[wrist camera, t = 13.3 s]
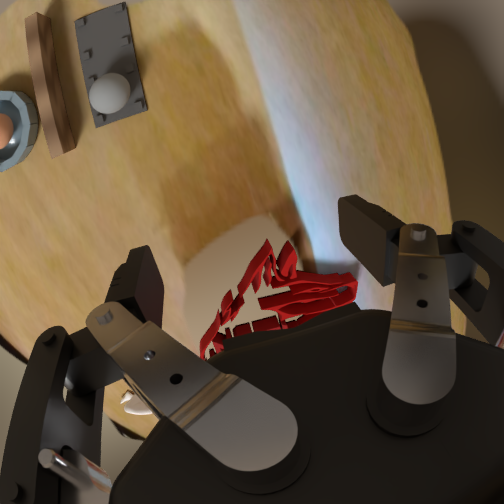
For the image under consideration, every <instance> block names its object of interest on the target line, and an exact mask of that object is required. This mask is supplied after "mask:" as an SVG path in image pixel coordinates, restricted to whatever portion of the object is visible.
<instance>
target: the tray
mask: <svg viewBox="0 0 504 504" xmlns="http://www.w3.org/2000/svg"><path fill="white" fill-rule="evenodd" d="M75 28H76V35H77V42H78V48H79V54H80V59H81V64H82V70H83V75H84V80H85V84H86V89H87V93H88V98H89V92H90V89H91V86H92V85H93V83H94V82H95V81H96V80H97V79H98V78H99V77H100V76H102V75H105V74H108V73H117V74H120V75H122V76H123V77H125V78H126V79H127V81H128V83H129V85H130V97H129V99H128V101H127V103H126V104H125V106H124V107H123V108H121V109H120V110H119V111H117V112H114V113H110V114H105V113H100V112H98V111H97V110H95V109H94V108H93V107H92V105H91V103H90V106H91V110H92V114H93V118H94V122H95V126H96V128H98V127H100V126H103V125H106V124H109V123H111V122H114V121H117V120H120V119H123V118H126V117H129V116H132V115H135V114H138V113H141V112H144V111H147V106H146V102H145V98H144V94H143V89H142V85H141V80H140V76H139V71H138V66H137V62H136V57H135V52H134V47H133V42H132V36H131V31H130V26H129V20H128V14H127V8H126V2H122V3H119V4H117V5H114V6H111V7H108V8H105V9H103V10H100V11H98V12H95V13H93V14H90V15H88V16H85V17H83V18H81V19H78V20H76V21H75ZM89 102H90V99H89Z"/></svg>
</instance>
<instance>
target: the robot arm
mask: <svg viewBox="0 0 504 504" xmlns="http://www.w3.org/2000/svg"><path fill="white" fill-rule="evenodd" d="M338 214H339V232H340V237H341V240H342V242H343V244H344V246H345V247H346V248H347V249H348V250H349V251H350V252H351V253H352V254H353V255H354V256H355V257H356V258H357V259H358V260H359V261H360V262H361V263H362V265H363V266H364V267H365V268H366V269H367V270H368V271H369V272H370V273H371V274H372V275H373V276H374V278H375V279H376V280H377V281H378V282H379V283H380V284H381V285H382V286H383V287H384V286H387V285H390V284H392V283H395V292H394V300H393V307H392V312H390V311H386V310H376V309H368V310H361V309H360V308H359V307H358V305H357V304H356V303H355V302H352V303H349V304H346V305H343V306H340V307H337V308H334V309H331V310H328V311H325V312H323V313H321V314H319V315H317V316H315V317H314V318H312V319H310V320H308V321H306V322H304V323H302V324H300V325H298V326H296V327H294V328H288V329H278V330H266V331H256V332H252V333H248V334H244V335H240V336H236V337H232V338H228V339H224V340H222V342H223V348H224V350H223V351H221V352H219V353H217V354H215V355H214V356H212V357H211V358H209V359H208V360H206V361H204V360H203V359H201V358H200V357H199V356H197V355H196V354H194V353H193V352H192V351H190V350H189V349H187V348H186V347H185V346H183V345H182V344H181V343H179V342H178V341H177V340H175V339H174V338H173V337H171V336H170V335H169V334H167V333H166V332H165V331H163V330H162V315H163V301H164V285H163V281H162V278H161V275H160V272H159V270H158V267H157V265H156V262H155V260H154V257H153V254H152V252H151V249H150V247H149V246H148V245H145V246H142V247H138V248H134V249H131V250H130V252H129V255H128V258H127V261H126V263H124V264H121V265H120V267H119V268H118V269H117V270H116V271H115V273H114V276H113V279H112V281H111V284H110V287H109V290H108V293H107V296H106V299H105V302H104V304H101V305H99V306H98V307H96V308H95V309H93V310H92V311H91V312H90V314H89V315H88V316H87V319H86V326H87V327H85V328H83V329H81V330H79V331H77V332H75V333H73V334H71V335H69V334H68V333H67V331H66V330H65V328H64V327H62V326H54V327H51V328H49V329H47V330H46V331H44V332H43V333H42V334H41V335H40V336H39V337H38V339H37V340H36V342H35V345H34V347H33V350H32V353H31V356H30V358H29V361H28V364H27V367H26V370H25V373H24V376H23V379H22V382H21V385H20V389H19V392H18V396H17V399H16V402H15V406H14V410H13V414H12V418H11V422H10V426H9V430H8V435H7V439H6V444H5V449H4V455H3V461H2V467H1V475H0V504H504V242H502V241H501V240H500V239H498V238H497V237H496V236H494V235H493V234H491V233H490V232H489V231H487V230H485V229H484V228H483V227H481V226H480V225H478V224H476V223H474V222H471V221H465V220H464V221H463V220H462V221H456V222H454V223H453V225H452V232H451V234H446V235H437V234H436V232H435V230H434V229H433V228H431V227H429V226H427V225H424V224H418V223H412V224H405V223H404V222H402V221H401V220H399V219H398V218H397V217H395V216H394V215H393V216H392V214H391V213H389V212H388V211H387V212H386V210H385V209H383V208H382V207H380V206H378V205H375V204H372V203H369V202H367V201H366V200H364V199H363V198H361V197H359V196H358V195H356V194H355V195H350V196H345V197H341V198H339V200H338ZM478 265H480V266H481V267H482V268H483V269H484V270H485V271H486V272H487V273H488V275H489V278H490V285H489V288H488V290H487V289H486V288H485V287H484V286H482V285H481V284H480V283H479V282H478V281H477V280H476V279H475V274H476V270H477V266H478ZM449 298H450V299H451V300H452V301H453V302H454V303H455V304H456V305H457V306H458V308H459V309H460V310H461V311H462V312H463V313H464V314H465V315H466V316H467V318H468V319H469V320H470V321H471V322H472V323H473V324H474V326H475V327H476V328H477V329H478V330H479V331H480V333H481V334H482V335H483V336H484V337H485V338H486V340H487V341H488V342H489V343H490V344H488V343H485V342H481V341H478V340H476V339H472V338H470V337H466V336H464V335H461V334H457V333H455V331H454V330H453V329H452V327H451V312H450V299H449ZM120 379H123V380H124V381H125V383H126V384H127V385H128V386H129V387H130V388H131V390H132V391H133V392H134V393H135V394H136V395H137V396H138V397H139V399H140V400H141V401H142V402H143V403H144V404H145V405H146V406H147V407H148V408H149V409H150V411H151V412H152V413H153V414H154V415H155V416H156V417H157V418H158V419H159V421H158V423H157V424H156V426H155V427H154V428H153V430H152V431H151V432H150V434H149V435H148V436H147V438H146V439H145V441H144V442H143V443H142V445H141V446H140V447H139V449H138V450H137V451H136V453H135V454H134V455H133V457H132V458H131V459H130V461H129V462H128V464H127V465H126V466H125V467H124V469H123V470H122V471H121V473H120V474H119V476H118V477H117V478H116V480H115V482H114V484H113V486H111V481H110V478H109V476H108V474H107V473H106V472H105V471H104V470H103V469H102V468H100V459H101V458H100V457H101V429H102V428H101V427H102V413H103V400H104V389H105V386H107V385H109V384H111V383H114V382H116V381H118V380H120ZM64 386H65V387H66V388H67V389H68V390H67V396H66V401H64V398H63V388H64Z"/></svg>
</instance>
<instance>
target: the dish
mask: <svg viewBox="0 0 504 504" xmlns="http://www.w3.org/2000/svg"><path fill="white" fill-rule="evenodd" d="M0 113H2V114H6V115H7V116H9V117H10V118H11V120H12V122H13V127H14V130H13V135H12V138H11V140H10V142H9V143H8V144H7V145H6V146H5V147H4V148H2V149H0V172H3V171H5V170H7V169H9V168H11V167H13V166H14V165H16V164H18V163H20V162H22V161H23V160H24V159H25V158H26V157H27V156H28V154H29V153H30V152H31V150H32V148H33V146H34V144H35V141H36V138H37V133H38V114H37V110H36V107H35V105H34V103H33V101H32V100H31V99H30V98H29V97H28V96H27V95H26V94H24V93H23V92H21V91H9V90H5V91H0Z"/></svg>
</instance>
